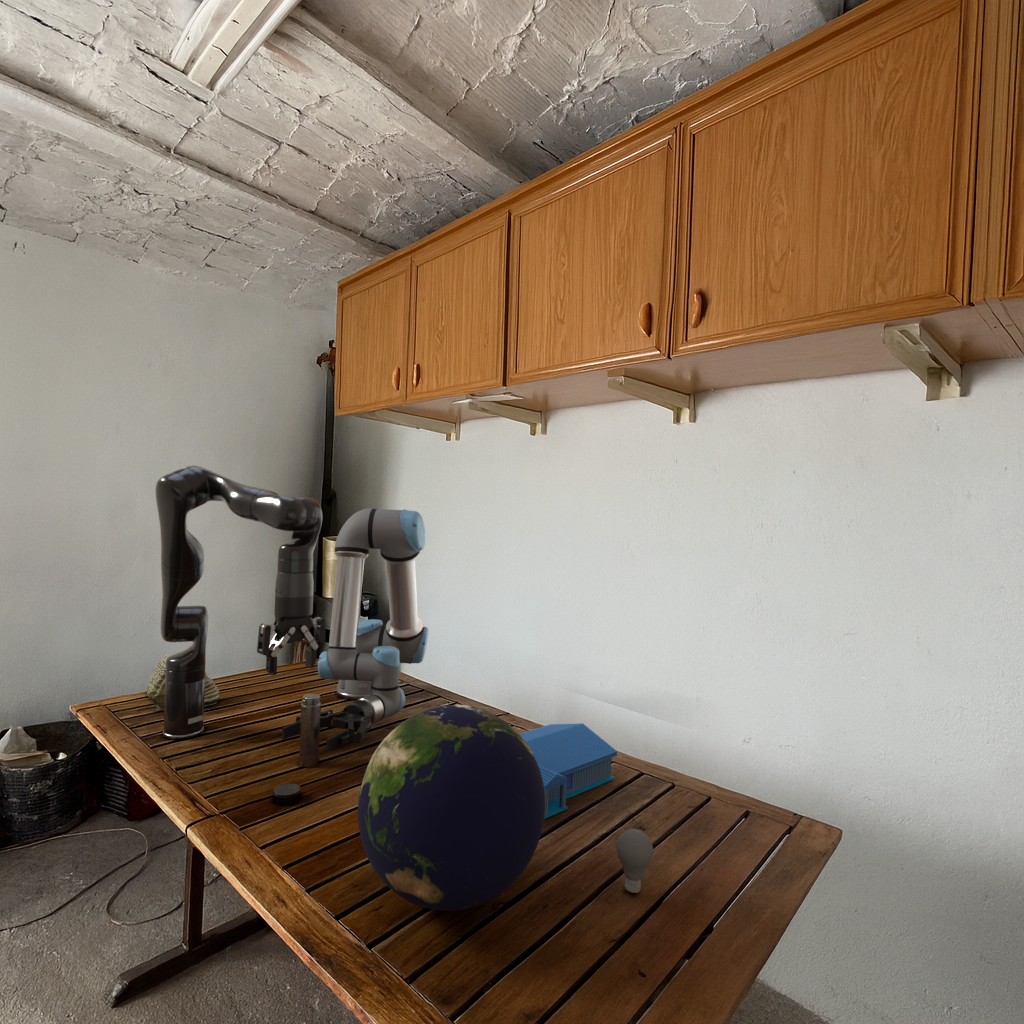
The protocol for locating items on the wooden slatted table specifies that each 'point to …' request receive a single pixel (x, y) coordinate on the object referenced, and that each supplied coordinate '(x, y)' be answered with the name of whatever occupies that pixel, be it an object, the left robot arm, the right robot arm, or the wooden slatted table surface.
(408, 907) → the wooden slatted table surface
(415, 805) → the globe
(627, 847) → the light bulb
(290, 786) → the lid
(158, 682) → the fossil
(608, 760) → the model building
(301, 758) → the jar
